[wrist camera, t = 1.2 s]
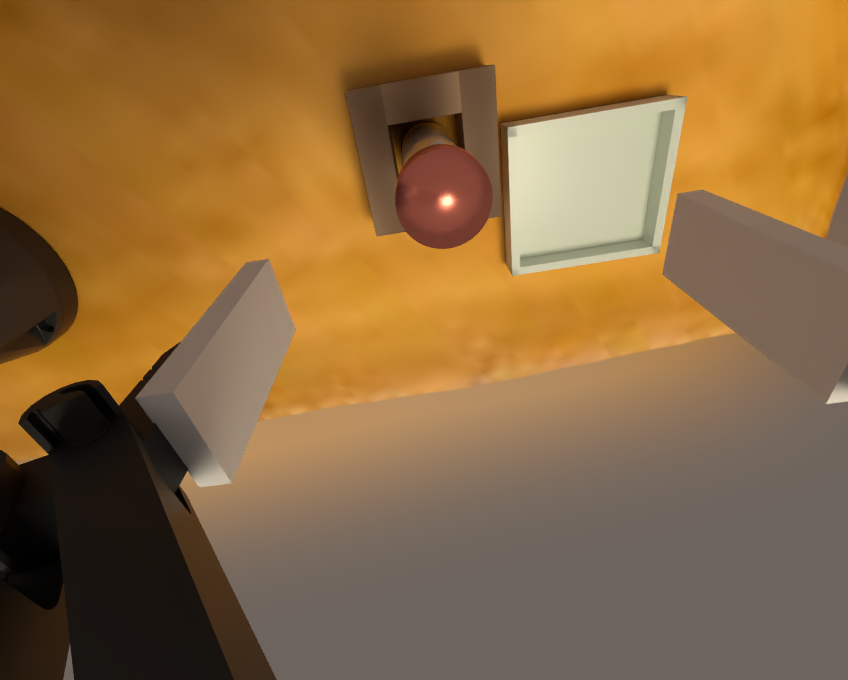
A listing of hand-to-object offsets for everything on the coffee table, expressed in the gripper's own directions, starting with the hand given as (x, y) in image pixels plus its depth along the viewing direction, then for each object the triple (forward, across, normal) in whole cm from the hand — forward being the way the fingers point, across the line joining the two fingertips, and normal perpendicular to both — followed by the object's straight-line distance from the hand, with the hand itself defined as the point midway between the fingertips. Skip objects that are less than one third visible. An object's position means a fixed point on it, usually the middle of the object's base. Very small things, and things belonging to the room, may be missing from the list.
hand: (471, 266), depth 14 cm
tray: (+24, +12, -5) cm, 27 cm away
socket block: (+23, 0, 0) cm, 23 cm away
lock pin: (+23, 0, 0) cm, 23 cm away
